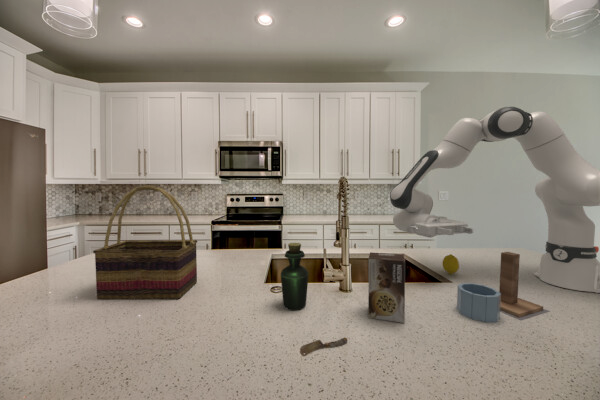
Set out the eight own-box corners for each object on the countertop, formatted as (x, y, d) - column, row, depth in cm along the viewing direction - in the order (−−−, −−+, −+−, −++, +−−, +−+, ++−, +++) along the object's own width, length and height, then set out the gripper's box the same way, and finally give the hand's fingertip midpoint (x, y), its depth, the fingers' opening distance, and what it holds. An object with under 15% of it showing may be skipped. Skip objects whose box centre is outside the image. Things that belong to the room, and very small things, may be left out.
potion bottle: (292, 296, 79) (291, 239, 78) (314, 303, 74) (314, 243, 73) (274, 306, 72) (274, 244, 71) (297, 315, 67) (297, 249, 66)
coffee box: (403, 312, 69) (404, 254, 68) (404, 324, 63) (406, 260, 62) (369, 306, 72) (369, 251, 71) (367, 317, 66) (368, 257, 65)
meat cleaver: (294, 344, 56) (296, 360, 51) (293, 339, 56) (296, 355, 51) (345, 338, 57) (352, 354, 52) (345, 334, 57) (352, 348, 52)
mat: (497, 294, 81) (497, 292, 81) (549, 313, 68) (550, 311, 68) (470, 300, 76) (470, 299, 76) (520, 322, 64) (520, 320, 64)
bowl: (471, 304, 73) (472, 281, 73) (507, 320, 65) (509, 293, 64) (449, 309, 70) (450, 285, 70) (484, 327, 61) (485, 299, 61)
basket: (92, 300, 76) (87, 185, 74) (126, 282, 90) (122, 185, 89) (180, 300, 76) (177, 185, 74) (199, 282, 91) (197, 185, 89)
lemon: (461, 277, 95) (461, 256, 95) (445, 276, 97) (445, 255, 96) (455, 272, 101) (455, 252, 100) (440, 271, 102) (440, 252, 102)
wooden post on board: (499, 294, 79) (501, 247, 78) (543, 310, 69) (546, 256, 68) (475, 299, 75) (477, 250, 74) (518, 317, 65) (521, 260, 64)
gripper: (407, 218, 93) (440, 223, 80) (446, 216, 101) (482, 221, 88) (406, 235, 94) (439, 243, 81) (446, 232, 101) (481, 239, 88)
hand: (462, 231), depth 84 cm, fingers open, 8 cm apart
